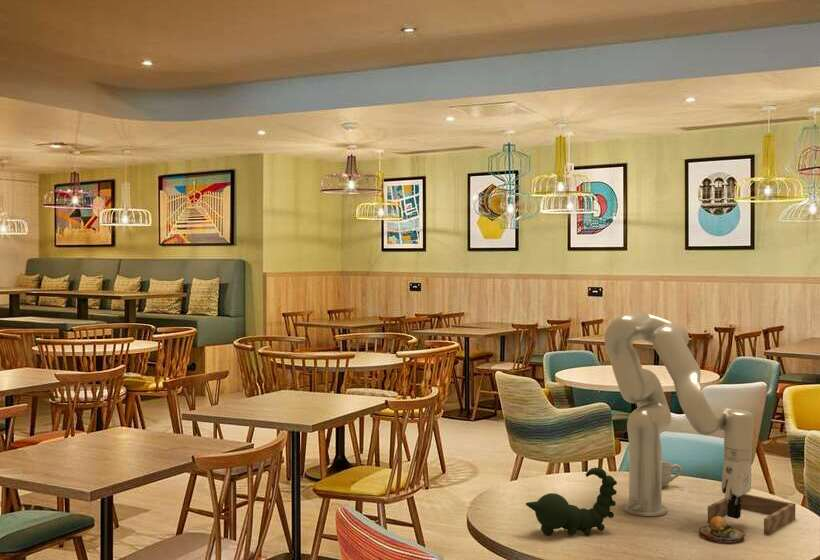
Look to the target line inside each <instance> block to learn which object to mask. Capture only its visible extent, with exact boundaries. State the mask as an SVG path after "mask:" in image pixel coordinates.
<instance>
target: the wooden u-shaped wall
mask: <svg viewBox="0 0 820 560" xmlns="http://www.w3.org/2000/svg"><path fill="white" fill-rule="evenodd" d="M739 504H740V503H739ZM727 507H728V503H727V500H726V499H725V497H724V498H722V499H720V500H718V501H716V502H714V503H712V504H710V505H708V506H707V522H708V523H710V520H711V519H712V518H713V517H715V516H721V517H723V518H724V517H725V516H727ZM741 510H744V511H749V512H753V511H754V512H755V513H758V512H759V513H758V514H763V515H767V516H765V517H764V518H763V535H764V536H771V535H772V534H773V533H775V532H776V531H778V530H779V529H781V528H783V527H784V526H786V525H788V524H789V523H791V522H793V521H795V520H796V503H793V502H788V501H783V500H777V499H773V498H767V497H763V496H758V495H754V494H747V493H746V494H744V495H743V496H742V503H741ZM754 512H753V513H754ZM714 513H715V514H714Z"/></svg>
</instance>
